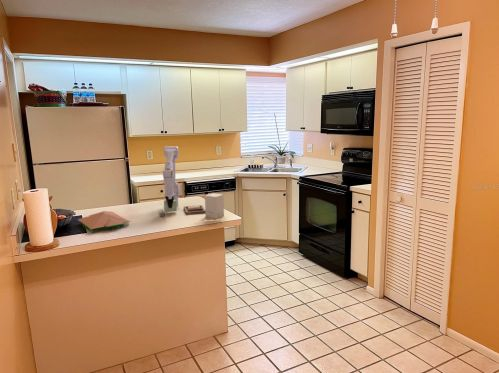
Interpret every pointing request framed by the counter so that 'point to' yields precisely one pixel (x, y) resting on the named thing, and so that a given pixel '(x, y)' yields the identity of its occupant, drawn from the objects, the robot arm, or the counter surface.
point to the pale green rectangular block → (167, 209)
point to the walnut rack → (194, 210)
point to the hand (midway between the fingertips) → (170, 207)
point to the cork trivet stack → (193, 207)
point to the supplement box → (214, 205)
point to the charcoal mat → (162, 214)
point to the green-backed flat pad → (103, 220)
